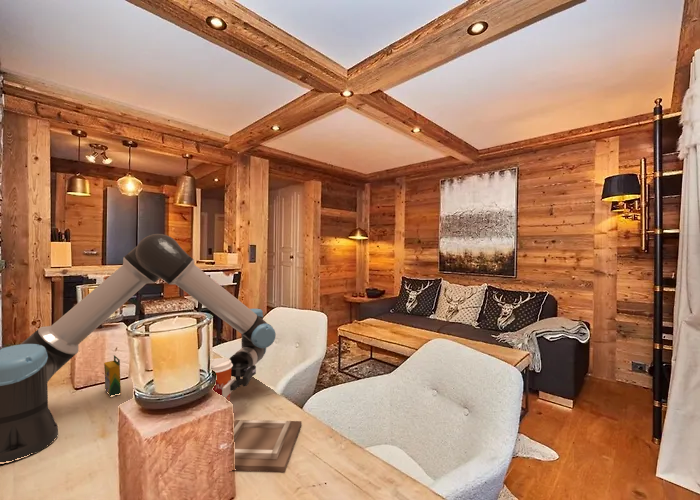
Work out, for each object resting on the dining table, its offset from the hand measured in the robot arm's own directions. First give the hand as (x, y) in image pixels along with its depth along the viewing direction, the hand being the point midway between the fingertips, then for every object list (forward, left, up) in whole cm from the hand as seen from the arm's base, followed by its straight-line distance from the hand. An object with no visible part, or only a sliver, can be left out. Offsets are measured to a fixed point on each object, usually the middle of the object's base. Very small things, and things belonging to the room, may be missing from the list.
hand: (209, 393), depth 88 cm
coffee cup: (0, +5, -9) cm, 10 cm away
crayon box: (-42, +19, -10) cm, 47 cm away
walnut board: (+15, -7, -9) cm, 19 cm away
